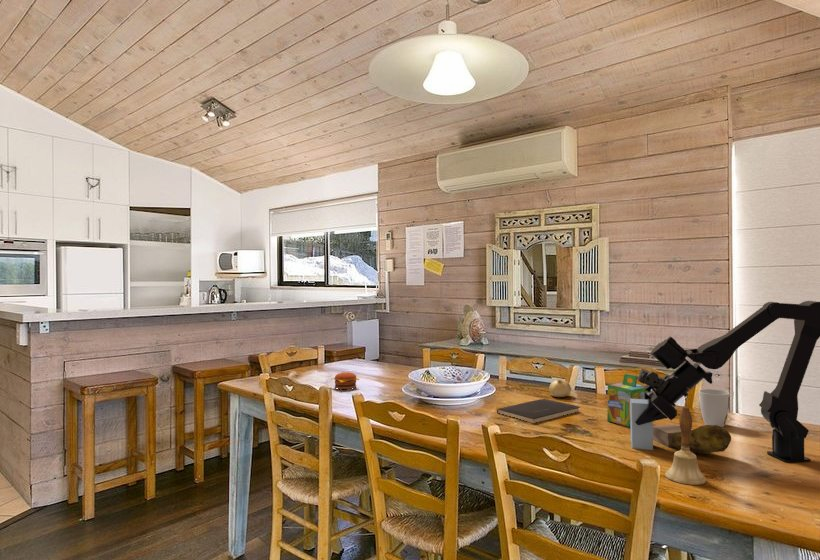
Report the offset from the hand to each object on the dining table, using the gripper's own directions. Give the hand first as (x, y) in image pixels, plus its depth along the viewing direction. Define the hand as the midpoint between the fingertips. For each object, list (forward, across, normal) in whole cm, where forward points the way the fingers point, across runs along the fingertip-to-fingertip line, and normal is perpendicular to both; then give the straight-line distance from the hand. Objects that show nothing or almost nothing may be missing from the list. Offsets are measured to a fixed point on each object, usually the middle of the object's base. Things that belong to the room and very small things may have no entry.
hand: (635, 421), depth 140 cm
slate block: (+4, 0, +6) cm, 7 cm away
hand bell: (-1, +21, +11) cm, 24 cm away
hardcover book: (+25, -28, -14) cm, 40 cm away
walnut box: (-2, -6, +12) cm, 13 cm away
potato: (-6, +3, +16) cm, 17 cm away
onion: (+20, -54, -10) cm, 59 cm away
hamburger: (+82, -49, -72) cm, 119 cm away
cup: (-12, -27, +22) cm, 37 cm away
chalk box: (+5, -23, +5) cm, 24 cm away
